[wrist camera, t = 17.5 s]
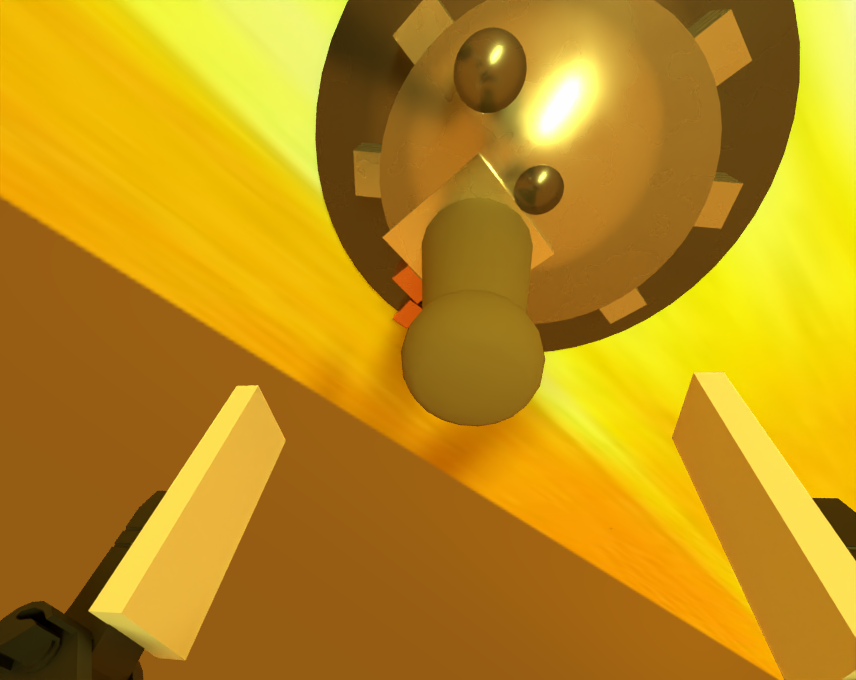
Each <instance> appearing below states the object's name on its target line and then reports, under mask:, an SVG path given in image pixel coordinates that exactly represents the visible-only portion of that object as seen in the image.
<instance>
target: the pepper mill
mask: <svg viewBox="0 0 856 680" xmlns="http://www.w3.org/2000/svg"><path fill="white" fill-rule="evenodd" d="M532 251H533V244H532V239H531V235H530V230H529V228H528V227H527V225H526V223H525V222H524V220H523V219H522V217H521V215H519V214H518V213H517V212H516V211H514V210H513V209H512V208H511V207H509V206H508V205H507V204H505V203H502V202H499V201H496V200H493V199H490V198H467V199H463V200H460V201H457V202H454V203H451V204H450V205H448V206H447V207H445V208H444V209H443V210H441V211H440V212H438V213H437V214H436V215H435V217H434V218H433V219H432V221H431V222H430V223H429V225H428V226H427V228H426V231H425V234H424V237H423V240H422V311H421V312H420V313H419V314H418V316H417V317H416V318H415V319H414V320H413V322H412V323H411V324H410V326H409V328H408V331H407V334H406V337H405V340H404V343H403V347H402V350H401V356H402V369H403V378H404V380H405V382H406V384H407V386H408V388H409V390H410V392H411V394H412V395H413V397H414V398H415V400H416V401H417V402H418V403H419V404H420V405H421V406H422V407H423V408H424V409H425V410H426V411H427V412H429V413H431V414H433V415H434V416H436V417H438V418H440V419H441V420H444V421H447V422H451V423H454V424H458V425H467V426H482V425H489V424H496V423H498V422H501V421H503V420H506V419H508V418H510V417H512V416H514V415H515V414H516V413H518V412H519V411H520V410H521V409H523V408H524V407H525V406H526V405H527V404H528V403H529V402H530V400H531V399H532V397H533V396H534V394H535V393H536V391H537V390H538V388H539V387H540V383H541V378H542V373H543V368H544V363H545V356H544V351H543V347H542V342H541V338H540V334H539V331H538V329H537V328H536V326H535V325H534V323H533V322H532V321H531V319H530V318H529V316H528V315H527V314H526V312H527V302H528V292H529V282H530V271H531V261H532Z"/></svg>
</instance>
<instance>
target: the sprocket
mask: <svg viewBox="0 0 856 680" xmlns="http://www.w3.org/2000/svg"><path fill="white" fill-rule="evenodd" d="M393 37H394V39H395V40H396V41H397V43H398V44H399V45H400V46H401V48H402V49H403V50H404V52H405V53H406V54H407V56H408V57H409V58H410V60H411V61H412V62H413V64H414V66H413V68H412V69H411V71H410V73H409V74H408V76H407V78H406V80H405V81H404V83H403V85H402V87H401V89H400V90H399V92H398V95H397V97H396V99H395V102H394V104H393V107H392V109H391V112H390V114H389V117H388V121H387V125H386V129H385V132H384V136H383V141H382V144H375V143H363V142H362V143H361V144H360V145H359V146H358V147H357V148H356V149H355V150H354V151H353V155H354V175H355V195H356V196H366V197H377V198H381V199H382V205H383V209H384V214H385V218H386V222H387V224H388V227H389V231H388V232H387V233H386V234H385V235H384V236H383V237H382V238H383V239H384V240H385V241H386V242H387V243H388V244H389V245H390V246H391V247H392V248H393V249H394V250H395V251H396V252H397V253H398V254H399V255H400V256H401V257H402V259H403V260H402V261H401V262H400V263H398V264H397V267H396V269H395V272H394V275H393V277H392V279H393V280H394V281H395V282H396V283H397V284H398V285H399V286H400V287H401V288H402V289H403V290H404V291H405V292H406V293H407V294H408V295H409V296H410V297H411V298H412V299H413V300H414V301H415V302H416V303H417V304H418V303H419V302H420V301H422V240H423V237H424V234H425V231H426V228H427V226H428V225H429V223H430V222H431V221H432V219H433V218H434V217H435V215H436V214H437V213H438V212H440V211H441V210H443V209H444V208H445V207H447V206H448V205H450V204H451V203H454V202H457V201H460V200H463V199H467V198H490V199H493V200H496V201H499V202H502V203H505V204H507V205H508V206H509V207H511V208H512V209H513V210H514V211H516V212H517V213H518V214H519V215H521V217H522V219H523V220H524V222H525V223H526V225H527V227H528V228H529V230H530V235H531V239H532V244H533V251H532V261H531V271H530V282H529V292H528V302H527V312H526V314H527V315H528V316H529V318H530V319H531V321H532V322H533V323H534V324H539V323H551V322H556V321H561V320H567V319H571V318H574V317H578V316H581V315H584V314H588V313H590V312H592V311H595V310H597V309H600V311H601V312H602V313H603V315H604V316H605V317H606V319H607V320H608V321H609V323H610V324H612V323H613V322H615V321H617V320H619V319H621V318H623V317H625V316H626V315H628V314H630V313H632V312H634V311H636V310H638V309H639V308H641V307H643V306H645V305H647V304H646V302H645V300H644V299H643V297H642V295H641V293H640V292H639V290H638V288H637V287H638V286H640V285H641V284H642V283H643V282H645V281H646V280H647V279H648V278H649V277H651V276H652V275H653V274H654V273H655V272H656V271H657V270H658V269H659V268H660V267H661V266H662V265H663V264H664V263H665V262H666V261H667V260H668V259H669V258H670V257H671V256H672V255H673V254H674V252H675V251H676V250H677V249H678V247H679V246H680V245H681V244H682V242H683V241H684V240H685V238H686V237H687V235H688V234H689V232H690V230H691V229H692V227H693V226H697V227H708V228H719V229H721V228H722V226H723V224H724V222H725V220H726V218H727V216H728V214H729V212H730V210H731V208H732V206H733V204H734V202H735V200H736V198H737V196H738V194H739V192H740V190H741V187H742V185H743V183H741V182H740V181H738V180H736V179H735V178H733V177H731V176H730V175H728V174H726V173H723V172H716V170H717V165H718V160H719V155H720V147H721V133H722V123H721V109H720V101H719V96H718V92H717V88H716V86H718V85H719V84H721V83H722V82H723V81H725V80H726V79H727V78H729V77H730V76H732V75H733V74H734V73H736V72H737V71H738V70H740V69H741V68H743V67H744V66H745V65H747V64H748V63H749V62H751V61H752V59H751V56H750V54H749V51H748V49H747V47H746V44H745V42H744V39H743V37H742V34H741V32H740V29H739V27H738V25H737V22H736V20H735V17H734V15H733V12H732V10H731V9H725V10H714V11H709V12H708V13H707V14H705V15H704V16H703V17H702V18H700V19H699V20H698V21H697V22H696V23H694V24H693V25H692V26H691V27H689V28H688V29H686V28H685V26H684V25H683V24H682V23H681V22H680V21H679V20H678V19H677V18H676V17H675V15H673V14H672V13H671V12H669V11H668V10H667V9H665V8H664V7H663V6H661V5H660V4H659V3H657V2H656V1H655V0H486V1H485V2H483V3H481V4H479V5H478V6H476V7H474V8H473V9H471V10H469V11H468V12H466V13H465V14H464V15H463V16H461V17H460V18H459V19H458V20H456V21H454V20H453V18H452V17H451V15H450V14H449V13H448V11H447V10H446V8H445V7H444V5H443V4H442V2H441V1H440V0H423V1H422V2H421V3H420V4H419V5H418V6H417V8H416V9H415V10H414V11H413V12H412V14H411V15H410V16H409V17H408V18H407V19H406V21H405V22H404V23H403V24H402V25H401V27H400V28H399V29H398V30H397V31H396V32H395V34H394V35H393Z"/></svg>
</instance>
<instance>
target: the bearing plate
mask: <svg viewBox="0 0 856 680" xmlns="http://www.w3.org/2000/svg"><path fill="white" fill-rule="evenodd" d="M422 1H423V0H348V2H347V4H346V6H345V9H344V11H343V14H342V16H341V18H340V21H339V23H338V25H337V28H336V30H335V32H334V35H333V37H332V40H331V43H330V47H329V50H328V54H327V57H326V61H325V64H324V68H323V71H322V77H321V83H320V89H319V96H318V102H317V113H316V151H317V163H318V171H319V176H320V181H321V186H322V191H323V196H324V200H325V203H326V206H327V209H328V212H329V215H330V218H331V221H332V223H333V226H334V228H335V230H336V232H337V234H338V236H339V238H340V241H341V243H342V245H343V247H344V248H345V250H346V252H347V253H348V255H349V257H350V258H351V260H352V261H353V263H354V265H355V266H356V268H357V269H358V270H359V271H360V273H361V274H362V275H363V277H364V278H365V279H366V280H367V282H368V283H369V284H370V285H371V286H372V287H373V288H374V289H375V290H376V291H377V292H378V293H379V294H380V295H381V296H382V297H383V298H384V299H385V300H386V301H387V302H388V303H389V304H390V305H392V306H393V307H394V308H395V309H397V310H398V312H397V313H396V314H395V315H394V317H393V319H394V320H395V321H397V322H398V323H399V324H401V325H402V326H404V327H405V328H408V327H409V326H410V324H411V323H412V322H413V320H414V319H415V318H416V317H417V316H418V314H419V313H420V312H421V311H422V301H420V302H419V303H418V304H417V303H416V302H415V301H414V300H413V299H412V298H411V297H410V296H409V295H408V294H407V293H406V292H405V291H404V290H403V289H402V288H401V287H400V286H399V285H398V284H397V283H396V282H395V281H394V280H393V279H392V277H393V275H394V272H395V269H396V267H397V264H398V263H400V262H401V261H402V260H403V259H402V257H401V256H400V255H399V254H398V253H397V252H396V251H395V250H394V249H393V248H392V247H391V246H390V245H389V244H388V243H387V242H386V241H385V240H384V239H383V238H382V237H383V236H384V235H385V234H386V233H387V232H388V231H389V227H388V224H387V222H386V218H385V214H384V209H383V205H382V199H381V198H377V197H366V196H356V195H355V175H354V155H353V151H354V150H355V149H356V148H357V147H358V146H359V145H360V144H361V143H362V142H363V143H375V144H382V141H383V136H384V132H385V129H386V125H387V121H388V117H389V114H390V112H391V109H392V107H393V104H394V102H395V99H396V97H397V95H398V92H399V90H400V89H401V87H402V85H403V83H404V81H405V80H406V78H407V76H408V74H409V73H410V71H411V69H412V68H413V66H414V64H413V62H412V61H411V60H410V58H409V57H408V56H407V54H406V53H405V52H404V50H403V49H402V48H401V46H400V45H399V44H398V43H397V41H396V40H395V39H394V37H393V35H394V34H395V32H396V31H397V30H398V29H399V28H400V27H401V25H402V24H403V23H404V22H405V21H406V19H407V18H408V17H409V16H410V15H411V14H412V12H413V11H414V10H415V9H416V8H417V6H418V5H419V4H420V3H421V2H422ZM440 1H441V2H442V4H443V5H444V7H445V8H446V10H447V11H448V13H449V14H450V15H451V17H452V18H453V20H454V21H456V20H458V19H459V18H460V17H461V16H463V15H464V14H465V13H466V12H468V11H469V10H471V9H473V8H474V7H476V6H478V5H479V4H481V3H483V2H485V1H486V0H440ZM655 1H656V2H657V3H659V4H660V5H661V6H663V7H664V8H665V9H667V10H668V11H669V12H671V13H672V14H673V15H675V17H676V18H677V19H678V20H679V21H680V22H681V23H682V24H683V25H684V26H685V28H686V29H688V28H689V27H691V26H692V25H693V24H694V23H696V22H697V21H698V20H699V19H700V18H702V17H703V16H704V15H705V14H707V13H708V12H709V11H714V10H725V9H731V10H732V12H733V15H734V17H735V20H736V22H737V25H738V27H739V29H740V32H741V34H742V37H743V39H744V42H745V44H746V47H747V49H748V51H749V54H750V56H751V59H752V61H751V62H749V63H748V64H747V65H745V66H744V67H743V68H741V69H740V70H738V71H737V72H736V73H734V74H733V75H732V76H730V77H729V78H727V79H726V80H725V81H723V82H722V83H721V84H719V85H718V86H716V88H717V92H718V96H719V101H720V109H721V123H722V133H721V147H720V155H719V160H718V165H717V170H716V172H723V173H726V174H728V175H730V176H731V177H733V178H735V179H736V180H738V181H740V182H741V183H743V185H742V187H741V190H740V192H739V194H738V196H737V198H736V200H735V202H734V204H733V206H732V208H731V210H730V212H729V214H728V216H727V218H726V220H725V222H724V224H723V226H722V228H721V229H719V228H708V227H697V226H693V227H692V229H691V230H690V232H689V234H688V235H687V237H686V238H685V240H684V241H683V242H682V244H681V245H680V246H679V247H678V249H677V250H676V251H675V252H674V254H673V255H672V256H671V257H670V258H669V259H668V260H667V261H666V262H665V263H664V264H663V265H662V266H661V267H660V268H659V269H658V270H657V271H656V272H655V273H654V274H653V275H652V276H651V277H649V278H648V279H647V280H646V281H645V282H643V283H642V284H641V285H640V286H638V287H637V288H638V290H639V292H640V293H641V295H642V297H643V299H644V300H645V302H646V304H647V305H645V306H643V307H641V308H639V309H638V310H636V311H634V312H632V313H630V314H628V315H626V316H625V317H623V318H621V319H619V320H617V321H615V322H613V323H612V324H610V323H609V321H608V320H607V319H606V317H605V316H604V315H603V313H602V312H601V311H600V309H597V310H595V311H592V312H590V313H588V314H584V315H581V316H578V317H574V318H571V319H567V320H561V321H556V322H551V323H539V324H534V325H535V326H536V328H537V329H538V331H539V334H540V338H541V342H542V347H543V351H555V350H560V349H566V348H571V347H577V346H580V345H584V344H587V343H591V342H594V341H598V340H601V339H604V338H606V337H609V336H611V335H614V334H616V333H619V332H622V331H624V330H626V329H628V328H630V327H632V326H634V325H636V324H638V323H640V322H642V321H644V320H646V319H648V318H649V317H651V316H653V315H654V314H656V313H657V312H659V311H660V310H662V309H664V308H665V307H667V306H668V305H670V304H671V303H673V302H674V301H675V300H677V299H678V298H679V297H680V296H682V295H683V294H684V293H686V292H687V291H688V290H689V289H691V288H692V287H693V286H694V285H695V284H697V283H698V282H699V281H700V280H701V279H702V278H703V277H704V276H705V275H706V274H707V273H708V272H709V271H710V270H711V269H712V268H713V267H715V266H716V264H717V263H718V262H719V261H720V260H721V259H722V257H723V256H724V255H725V254H726V253H727V252H728V251H729V249H730V248H731V247H732V246H733V245H734V244H735V242H736V241H737V240H738V238H739V237H740V235H741V234H742V233H743V231H744V230H745V228H746V227H747V225H748V224H749V223H750V221H751V220H752V218H753V217H754V215H755V214H756V212H757V210H758V208H759V206H760V204H761V203H762V201H763V199H764V197H765V195H766V194H767V192H768V190H769V188H770V186H771V184H772V182H773V179H774V177H775V174H776V172H777V170H778V167H779V165H780V162H781V160H782V158H783V155H784V152H785V149H786V145H787V142H788V138H789V134H790V131H791V127H792V124H793V120H794V115H795V108H796V101H797V94H798V88H799V70H800V42H799V35H798V28H797V21H796V14H795V7H794V2H793V0H655Z"/></svg>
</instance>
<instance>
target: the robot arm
mask: <svg viewBox="0 0 856 680" xmlns="http://www.w3.org/2000/svg"><path fill="white" fill-rule="evenodd" d="M672 439H673V441H674V443H675V445H676V447H677V450H678V452H679V454H680V456H681V458H682V460H683V463H684V465H685V467H686V469H687V471H688V473H689V475H690V478H691V480H692V482H693V484H694V486H695V488H696V491H697V493H698V495H699V497H700V499H701V501H702V503H703V506H704V508H705V510H706V512H707V514H708V516H709V519H710V521H711V523H712V525H713V527H714V529H715V531H716V534H717V536H718V538H719V540H720V542H721V544H722V547H723V549H724V551H725V553H726V555H727V557H728V559H729V562H730V564H731V566H732V568H733V570H734V572H735V575H736V577H737V579H738V581H739V583H740V585H741V587H742V590H743V592H744V594H745V596H746V598H747V600H748V602H749V605H750V607H751V609H752V611H753V613H754V615H755V618H756V620H757V622H758V624H759V626H760V628H761V630H762V633H763V635H764V637H765V639H766V641H767V643H768V646H769V648H770V650H771V652H772V654H773V656H774V658H775V661H776V663H777V665H778V667H779V669H780V671H781V674H782V676H783V678H784V680H856V512H854V511H853V510H852V509H851V508H849V507H848V506H847V505H846V504H844V503H843V502H842V501H841V500H839V499H838V498H811V496H810V495H809V493H808V492H807V491H806V489H805V488H804V486H803V485H802V483H801V482H800V481H799V479H798V478H797V476H796V475H795V473H794V472H793V471H792V469H791V468H790V466H789V465H788V463H787V462H786V460H785V459H784V458H783V456H782V455H781V453H780V452H779V450H778V449H777V448H776V446H775V445H774V443H773V442H772V440H771V439H770V438H769V436H768V435H767V433H766V432H765V430H764V429H763V428H762V426H761V425H760V423H759V422H758V420H757V419H756V418H755V416H754V415H753V413H752V412H751V410H750V409H749V408H748V406H747V405H746V403H745V402H744V400H743V399H742V397H741V396H740V395H739V393H738V392H737V390H736V389H735V387H734V386H733V385H732V383H731V382H730V380H729V379H728V377H727V376H726V375H725V373H724V372H709V373H694V374H693V377H692V380H691V383H690V386H689V389H688V392H687V395H686V398H685V401H684V404H683V407H682V410H681V413H680V416H679V419H678V422H677V424H676V427H675V430H674V433H673V436H672ZM285 441H286V440H285V438H284V436H283V434H282V432H281V430H280V428H279V426H278V424H277V422H276V420H275V418H274V416H273V414H272V412H271V410H270V408H269V406H268V404H267V402H266V400H265V398H264V396H263V394H262V392H261V390H260V388H259V386H237V387H236V388H235V390H234V391H233V393H232V394H231V396H230V397H229V399H228V400H227V402H226V403H225V405H224V406H223V408H222V409H221V411H220V412H219V414H218V415H217V417H216V418H215V420H214V421H213V423H212V424H211V426H210V427H209V429H208V431H207V432H206V434H205V435H204V436H203V438H202V439H201V441H200V443H199V444H198V446H197V447H196V449H195V450H194V452H193V453H192V455H191V456H190V458H189V459H188V461H187V462H186V464H185V465H184V467H183V468H182V470H181V471H180V473H179V474H178V476H177V477H176V479H175V481H174V482H173V483H172V485H171V486H170V488H169V489H168V491H157V492H156V493H155V494H154V495H152V496H151V497H150V498H149V499H148V500H147V501H146V502H145V503H144V504H143V505H142V506H141V507H139V509H138V510H137V512H136V513H135V514H134V516H133V518H132V519H131V520H130V522H129V523H128V525H127V526H126V530H125V531H123V532H122V533H121V535H120V536H119V537H118V539H117V540H116V542H115V546H114V547H112V548H111V549H110V551H109V552H108V553H107V555H106V556H105V558H104V559H103V560H102V562H101V563H100V565H99V566H98V568H97V569H96V571H95V572H94V573H93V575H92V576H91V578H90V579H89V581H88V582H87V584H86V585H85V586H84V588H83V589H82V591H81V592H80V594H79V595H78V597H77V598H76V599H75V601H74V602H73V604H72V605H71V606H70V608H69V609H68V610H67V611H66V613H65V614H63V613H62V612H60V611H59V610H57V609H55V608H54V607H52V606H51V605H49V604H47V603H46V602H44V601H40V602H31V603H29V604H27V605H24V606H22V607H20V608H18V609H16V610H15V611H13V612H12V613H10V614H9V615H8V616H6V617H5V618H3V619H2V620H1V621H0V680H143V671H142V668H141V665H140V662H139V661H138V660H139V658H140V656H141V654H142V652H143V651H144V649H145V650H146V651H148V652H149V653H151V654H152V655H154V656H155V657H157V658H166V659H177V660H186V658H187V655H188V653H189V651H190V649H191V647H192V645H193V642H194V640H195V638H196V636H197V634H198V632H199V629H200V627H201V625H202V623H203V620H204V618H205V616H206V614H207V612H208V610H209V607H210V605H211V603H212V601H213V599H214V597H215V594H216V592H217V590H218V588H219V585H220V583H221V581H222V579H223V577H224V575H225V572H226V570H227V568H228V566H229V564H230V561H231V559H232V557H233V555H234V553H235V551H236V548H237V546H238V544H239V542H240V540H241V538H242V535H243V533H244V531H245V529H246V527H247V524H248V522H249V520H250V518H251V515H252V513H253V511H254V509H255V507H256V505H257V503H258V500H259V498H260V496H261V494H262V492H263V489H264V487H265V485H266V483H267V481H268V478H269V476H270V474H271V472H272V470H273V468H274V465H275V463H276V461H277V459H278V457H279V455H280V452H281V450H282V448H283V446H284V443H285Z"/></svg>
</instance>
